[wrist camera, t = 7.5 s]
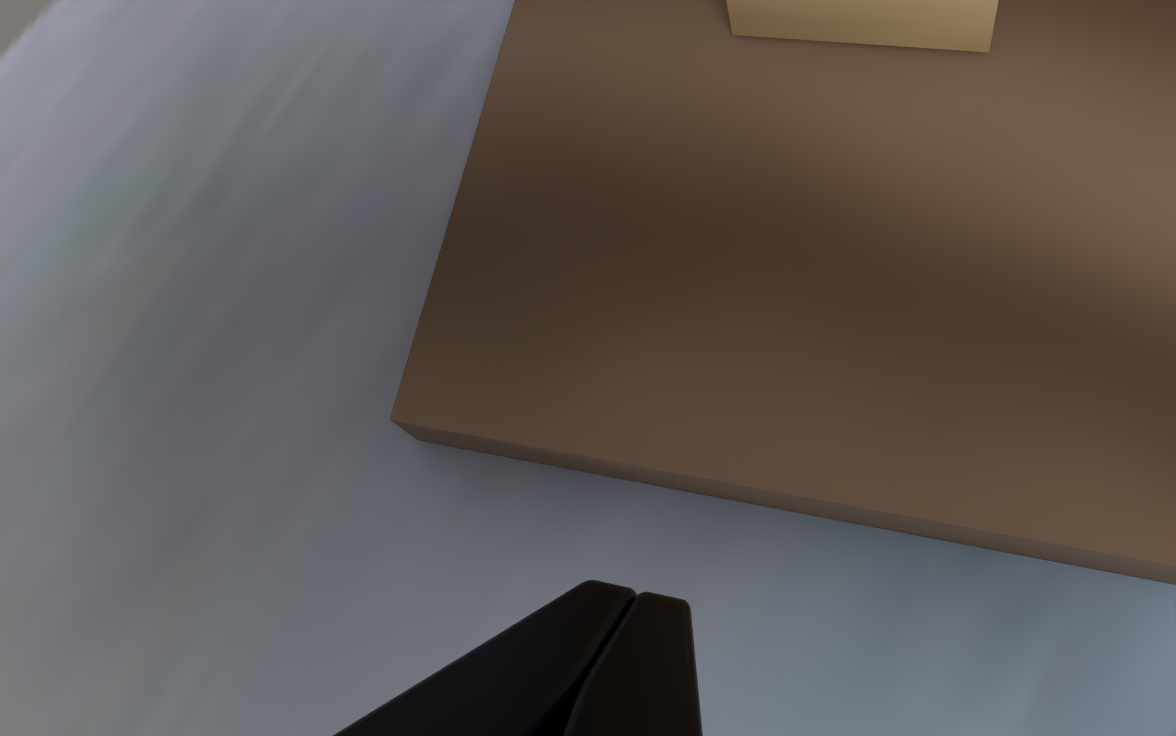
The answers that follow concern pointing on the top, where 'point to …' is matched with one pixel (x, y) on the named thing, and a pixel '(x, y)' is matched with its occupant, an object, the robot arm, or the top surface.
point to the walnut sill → (827, 272)
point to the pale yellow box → (870, 21)
